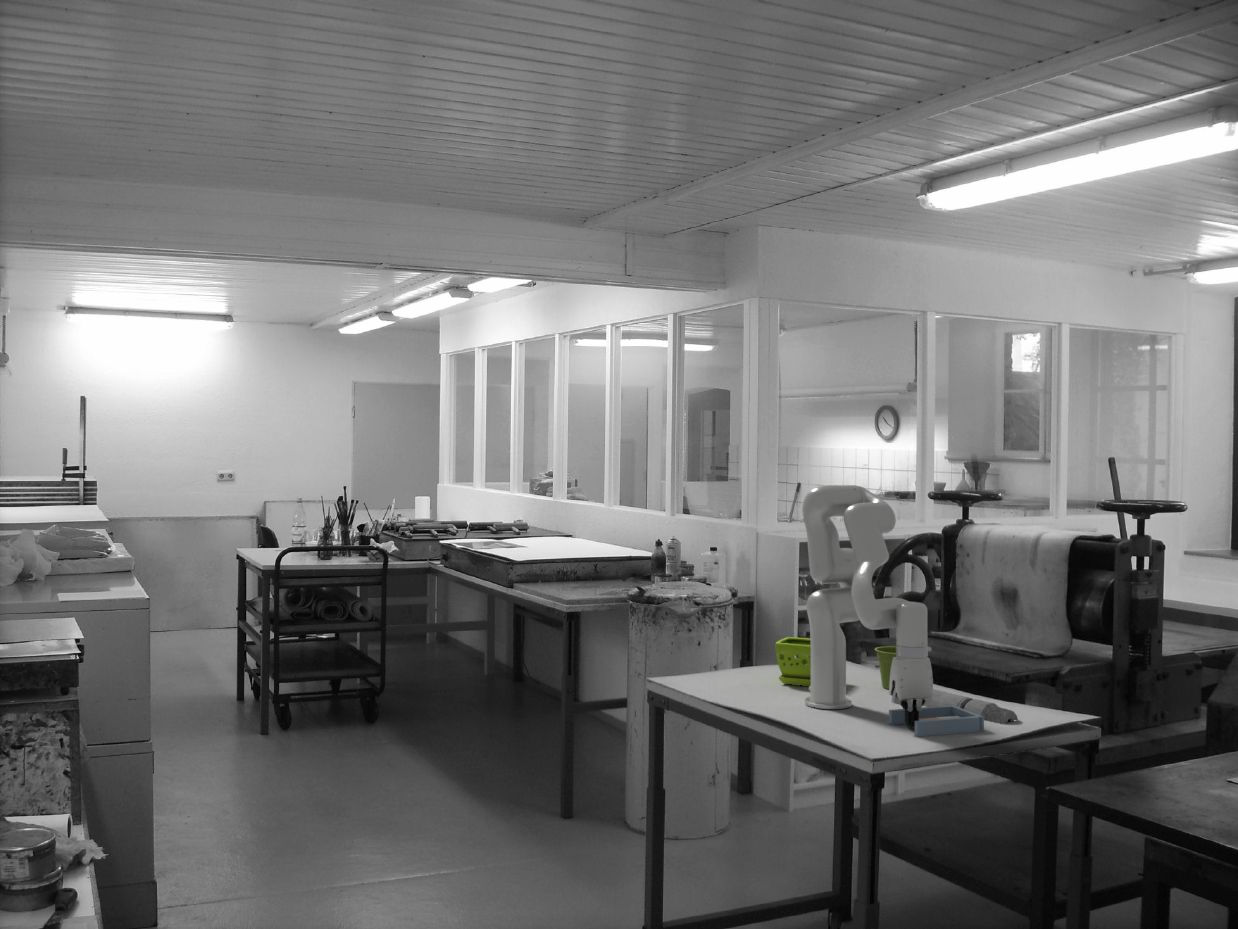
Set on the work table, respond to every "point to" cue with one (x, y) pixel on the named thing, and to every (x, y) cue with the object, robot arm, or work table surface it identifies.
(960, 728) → the box
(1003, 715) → the mechanical component
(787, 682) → the flower pot
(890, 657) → the plant pot
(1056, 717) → the work table surface
